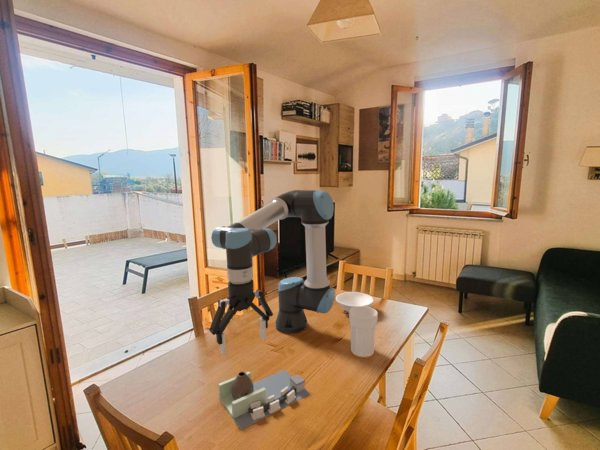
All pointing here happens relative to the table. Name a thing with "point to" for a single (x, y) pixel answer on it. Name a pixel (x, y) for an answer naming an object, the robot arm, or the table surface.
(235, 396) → the vase
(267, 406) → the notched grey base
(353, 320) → the cup
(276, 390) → the board
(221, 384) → the holder
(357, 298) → the bowl
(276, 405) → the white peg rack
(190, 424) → the table surface
